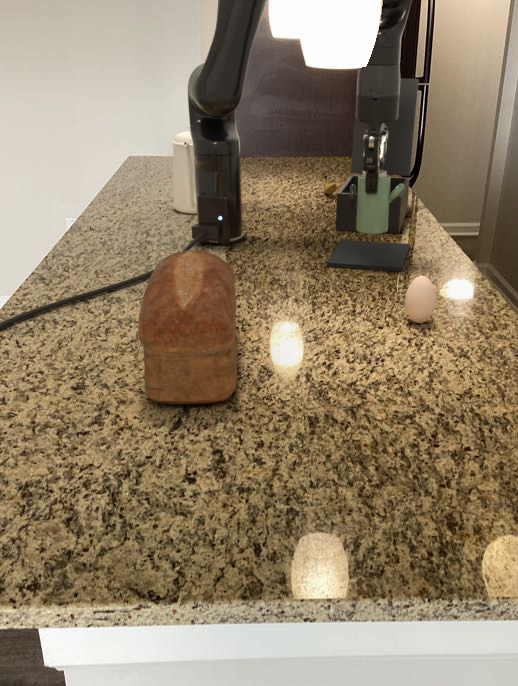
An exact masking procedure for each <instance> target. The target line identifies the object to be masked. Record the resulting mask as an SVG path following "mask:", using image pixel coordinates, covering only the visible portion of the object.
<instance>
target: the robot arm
mask: <svg viewBox="0 0 518 686" xmlns="http://www.w3.org/2000/svg"><path fill="white" fill-rule="evenodd" d="M268 1H269V0H217V9H216V10H217V11H216V21H215V24H216V25H215V29H214V34H213V38H212V41H211V44H210V47H209V49H208V53H207V55H206V58H205V60H204V63H201V64H199V65H198V66H196V67H195V68H194V69H193V70H192V72H191V73H190V75H189V77H188V81H187V105H188V118H189V120H188V121H189V125H190V130H189V131H190V132H191V137H192V141H193V151H194V170H195V188H196V207H197V214H196V223H193V225H191V227H190V228H191V239H193V240H191V242H189V243H188V245H187V246H186V247H184V249H183V250H182V251H181V252H184V251H187V250H192V248H193V247H194V246H195V245H196V244H197V243H199V244H211V245H225V246H227V245H228V246H229V245H231V244H234V243H237V242H241V240H243V239H244V232H243V208H242V207H243V204H242V171H241V170H242V169H241V167H242V166H241V165H242V164H241V140H240V139H241V138H240V136H239V132H238V126H237V119H236V109H237V108H238V106H239V105H240V103H241V100H242V97H243V92H244V88H245V83H246V77H247V72H248V68H249V62H250V58H251V53H252V48H253V45H254V42H255V39H256V36H257V33H258V31H259V28H260V26H261V22H262V19H263V17H264V14H265V11H266V7H267V4H268ZM412 2H413V0H383V6H382V15H381V20H380V26H379V31H378V35H377V38H376V42H375V45H374V48H373V51H372V54H371V57H370V59H369V62H368V64H367V66H366V67H362V68H359V67H358V71H357V79H356V96H357V99H356V98H355V109H356V119H357V120H358V121H360V122H367V123H368V125H369V126H368V131H366V133H364V165H363V168H364V170H365V172H366V182H365V192H366V193H367V194H376V193H377V191H378V173H379V171H380V170H382V168H383V164H384V159H385V157H386V155H385V154H386V149H387V139H388V131H387V126H385V123H390V122H394V121H396V120H397V119H398V110H399V93H400V79H401V64H400V63H401V53H402V52H401V49H402V37H403V34H404V30H405V27H406V24H407V20H408V17H409V13H410V9H411V5H412ZM369 160H370V163H369ZM153 271H154V269H151V270H150V271H147V272H145V273H142V274H140V275H137V276H134V277H131V278H128V279H126V280H123V281H119V282H117V283H113V284H109V285H106V286H104V287H100V288H97V289H94V290H90V291H87V292H83V293H80V294H76V295H73V296H69V297H66V298H63V299H61V300H58V301H54V302H51V303H48V304H45V305H41V306H39V307H36V308H33V309H31V310H28V311H25V312H23V313H20V314H18V315H15V316H13V317H11V318H10V317H9V318H8V319H5V320H4V321H1V322H0V330H2V329H4V328H7V327H8V326H11V325H12V324H15V323H18V322H19V321H23V320H25V319H28V318H31V317H32V316H35V315H38V314H41V313H44V312H46V311H49V310H52V309H55V308H58V307H61V306H65V305H68V304H71V303H74V302H77V301H80V300H83V299H86V298H90V297H91V298H92V297H95V296H98V295H101V294H105V293H107V292H110V291H114V290H117V289H120V288H122V287H125V286H129V285H132V284H135V283H138V282H140V281H143V280H145V279H147V278H150V277H151V274H152V273H153Z"/></svg>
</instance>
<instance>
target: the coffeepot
mask: <svg viewBox="0 0 518 686" xmlns="http://www.w3.org/2000/svg"><path fill="white" fill-rule="evenodd" d="M187 129H188V131H181V132H178V133H177V134H176V135H175V136H174V138H173V140H172V146H173V149H172V150H173V151H172V152H173V155H172V156H173V157H172V158H173V162H172V163H173V165H172V166H173V167H172V168H173V171H172V172H173V173H172V174H173V175H172V176H173V177H172V178H173V179H172V180H173V181H172V182H173V183H172V190H173V191H172V205H173V208H174V210H175V211H177V212H179V213H181V214H182V213H183V214H189V215H190V214H191V215H197V207H196V188H195V170H194V151H193V141H192V137H191V132H190V124H188V125H187Z"/></svg>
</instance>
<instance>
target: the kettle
mask: <svg viewBox="0 0 518 686" xmlns="http://www.w3.org/2000/svg"><path fill="white" fill-rule="evenodd" d="M357 175H358V193H357V218H356V230H357V231H356V232H359V233H362V234H366V235H367V234H369V235H377V234H385V233H384V232H387V230H388V215H389V203H391V202H392V201H393V200H394V199H395V198H396V197H397V196H398V194H399V193H400V192H401V191H402V190H403V189H404V184H402V183H401V184H399V185H398V186H397V187H396V188H395V189H394V190H393V191H392V193H391V194H390V181H391V177H392V175H388V174H387V172H386V171H385V170H380V171H379V173H378V191H377V193H376V194H367V193H366V192H365V182H366V172H365V170H364V171H363V174H357ZM355 194H356V186H355V185H354V184H352V185H351V186H350V209H354V208H355Z"/></svg>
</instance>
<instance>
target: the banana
mask: <svg viewBox="0 0 518 686" xmlns="http://www.w3.org/2000/svg"><path fill="white" fill-rule="evenodd" d="M323 177H324V181H325V182H324V184H323V191H324V193H325V194H326V195H330V196H331V195H332V194H334V193H335V192H336V191H337V190H338V185H337V183H336V182H332V183H329V180H328V175H324V176H323Z"/></svg>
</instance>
